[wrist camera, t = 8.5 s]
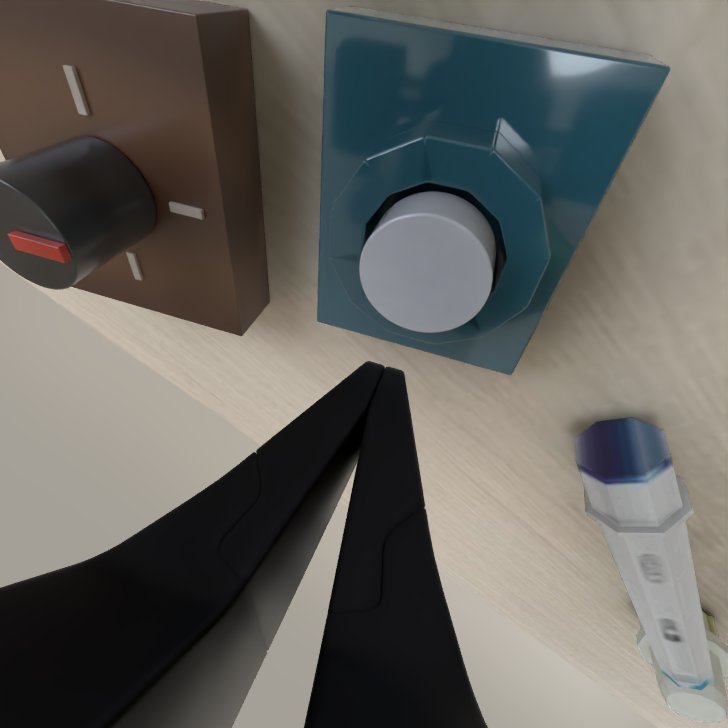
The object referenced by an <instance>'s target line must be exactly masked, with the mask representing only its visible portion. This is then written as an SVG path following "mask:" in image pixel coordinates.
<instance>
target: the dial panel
mask: <svg viewBox="0 0 728 728" xmlns="http://www.w3.org/2000/svg"><path fill="white" fill-rule="evenodd" d="M77 136H90V137H94V138H97V139H100V140H102V141H105V142H106V143H108V144H110V145H112V146H113V147H114V148H116V149H117V150H119V151H120V152H121V153H122V154H123V155H125V156H126V157H127V158H128V159H129V160H130V161H131V163H132V164H133V165H134V166H135V167H136V168H137V170H138V171H139V172H140V174H141V175H142V177H143V178H144V180H145V182H146V183H147V185H148V187H149V189H150V192H151V194H152V197H153V200H154V203H155V208H156V221H155V225H154V228H153V230H152V231H151V233H150V234H149V235H148V236H146V237H145V238H143V239H142V240H140V241H139V242H137V243H136V244H134V245H133V246H131V247H130V248H128V249H127V250H125V251H124V252H122V253H121V254H119V255H118V256H116V257H115V258H113V259H112V260H110V261H109V262H107V263H106V264H104V265H103V266H101V267H100V268H98V269H97V270H95V271H93V272H92V273H90V274H89V275H87V276H86V277H84V278H83V279H81V280H80V281H78V282H77V283H75V284H74V285H72V286H71V287H74V288H78V289H81V290H85V291H88V292H91V293H95V294H98V295H102V296H105V297H109V298H112V299H115V300H119V301H122V302H126V303H129V304H133V305H136V306H139V307H143V308H146V309H150V310H153V311H157V312H160V313H163V314H167V315H170V316H174V317H177V318H181V319H184V320H188V321H191V322H194V323H198V324H201V325H205V326H208V327H212V328H215V329H218V330H222V331H225V332H229V333H232V334H236V335H239V336H243V334H244V333H245V332H246V331H247V330H248V328H249V327H250V326H251V325H252V323H253V322H254V321H255V320H256V319H257V317H258V316H259V315H260V314H261V312H262V311H263V310H264V309H265V308H266V306H267V305H268V304H269V290H268V277H267V263H266V249H265V236H264V222H263V208H262V195H261V181H260V167H259V154H258V140H257V127H256V113H255V99H254V86H253V72H252V58H251V45H250V31H249V17H248V10H247V9H244V8H238V7H233V6H227V5H221V4H215V3H209V2H204V1H198V0H0V149H1V151H2V153H3V155H4V157H5V159H6V160H9V159H12V158H15V157H17V156H20V155H23V154H26V153H29V152H32V151H35V150H38V149H41V148H44V147H47V146H50V145H53V144H56V143H58V142H61V141H64V140H67V139H70V138H73V137H77Z"/></svg>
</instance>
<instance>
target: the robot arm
mask: <svg viewBox="0 0 728 728" xmlns="http://www.w3.org/2000/svg"><path fill="white" fill-rule="evenodd" d="M256 452H257V454H256V453H255V452H254V453H252V454H251V455H250V456H248V457H247V458H246V459H245V460H243V461H242V462H241V463H240V464H239V465H237V466H236V467H235V468H233V469H232V470H231V471H229V472H228V473H227V474H225V475H224V476H223V477H221V478H220V479H219V480H217V481H216V482H214V483H213V484H211V485H210V486H208V487H207V488H205V489H204V490H203V491H201V492H200V493H198V494H197V495H195V496H194V497H192V498H191V499H189V500H188V501H186V502H184V503H183V504H181V505H180V506H178V507H177V508H175V509H174V510H172V511H171V512H169V513H167V514H166V515H164V516H163V517H161V518H160V519H158V520H157V521H155V522H154V523H152V524H150V525H149V526H147V527H146V528H144V529H143V530H141V531H139V532H138V533H137V534H135V535H133V536H132V537H130V538H129V539H127V540H125V541H124V542H122V543H121V544H119V545H117V546H115V547H113V548H112V549H110V550H108V551H106V552H104V553H102V554H100V555H97V556H95V557H93V558H91V559H88V560H86V561H83V562H81V563H78V564H75V565H72V566H68V567H65V568H62V569H59V570H56V571H52V572H49V573H46V574H43V575H40V576H37V577H34V578H30V579H27V580H24V581H20V582H17V583H14V584H11V585H8V586H5V587H2V588H0V728H232V726H233V724H234V721H235V719H236V717H237V715H238V713H239V711H240V708H241V707H242V704H243V703H244V700H245V698H246V696H247V694H248V692H249V690H250V688H251V685H252V683H253V681H254V679H255V677H256V675H257V673H258V671H259V669H260V667H261V664H262V662H263V660H264V658H265V656H266V654H267V650H268V649H269V647H270V645H271V643H272V641H273V639H274V637H275V635H276V633H277V631H278V628H279V626H280V624H281V622H282V620H283V618H284V616H285V614H286V612H287V609H288V607H289V605H290V603H291V601H292V599H293V597H294V595H295V593H296V590H297V588H298V586H299V584H300V582H301V580H302V578H303V576H304V574H305V571H306V569H307V567H308V565H309V563H310V561H311V559H312V557H313V555H314V552H315V550H316V548H317V546H318V544H319V542H320V540H321V538H322V536H323V533H324V531H325V529H326V527H327V525H328V523H329V521H330V519H331V517H332V514H333V512H334V510H335V508H336V506H337V504H338V502H339V500H340V498H341V495H342V493H343V491H344V489H345V487H346V485H347V483H348V481H349V479H350V476H351V474H352V472H353V470H354V468H355V466H356V463H357V467H356V472H355V477H354V483H353V488H352V493H351V498H350V503H349V508H348V513H347V518H346V523H345V528H344V533H343V538H342V543H341V548H340V554H339V559H338V563H337V568H336V573H335V579H334V584H333V589H332V594H331V599H330V604H329V609H328V615H327V619H326V624H325V629H324V635H323V639H322V644H321V649H320V654H319V659H318V664H317V668H316V673H315V678H314V682H313V688H312V692H311V697H310V701H309V706H308V711H307V716H306V720H305V726H304V728H488V727H487V725H486V723H485V721H484V718H483V716H482V714H481V711H480V709H479V706H478V703H477V701H476V698H475V696H474V693H473V690H472V687H471V684H470V681H469V678H468V675H467V672H466V668H465V665H464V662H463V658H462V655H461V651H460V648H459V644H458V641H457V637H456V634H455V631H454V627H453V623H452V620H451V616H450V613H449V609H448V606H447V603H446V599H445V596H444V592H443V588H442V585H441V581H440V577H439V573H438V569H437V565H436V561H435V557H434V552H433V547H432V542H431V537H430V532H429V526H428V520H427V513H426V509H424V507H425V502H424V496H423V489H422V483H421V477H420V470H419V464H418V458H417V451H416V445H415V439H414V432H413V426H412V419H411V413H410V407H409V400H408V394H407V388H406V381H405V375H404V372H403V371H402V370H398V369H395V368H391V367H386V368H385V367H384V366H383V365H381V364H377V363H374V362H370V361H368V362H365V363H364V364H363V365H362V366H360V367H359V368H358V369H357V370H355V371H354V372H353V373H352V374H350V375H349V376H348V377H347V378H345V379H344V380H343V381H342V382H340V383H339V384H338V385H337V386H336V387H334V388H333V389H332V390H331V391H329V392H328V393H327V394H326V395H324V396H323V397H322V398H321V399H319V400H318V401H317V402H316V403H314V404H313V405H312V406H311V407H309V408H308V409H307V410H306V411H304V412H303V413H302V414H301V415H299V416H298V417H297V418H296V419H295V420H293V421H292V422H291V423H290V424H288V425H287V426H286V427H285V428H283V429H282V430H281V431H280V432H278V433H277V434H276V435H275V436H273V437H272V438H271V439H270V440H268V441H267V442H266V443H265V444H263V445H262V446H261V447H260V448H259V449H257V451H256ZM357 461H358V462H357Z"/></svg>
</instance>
